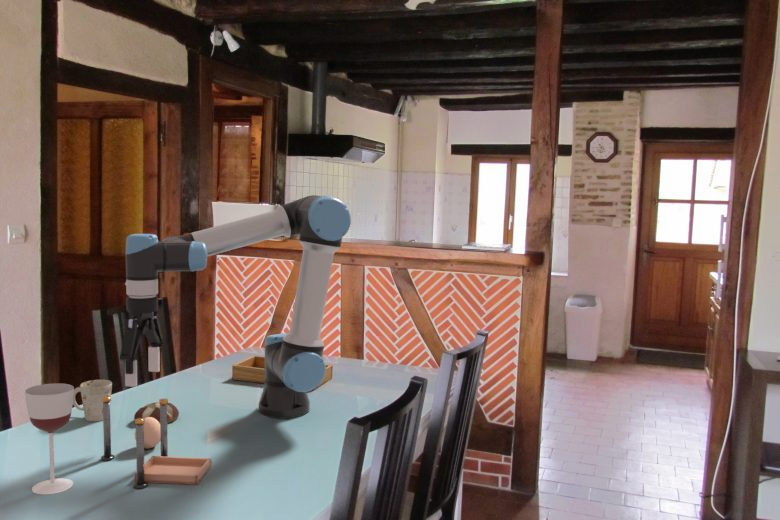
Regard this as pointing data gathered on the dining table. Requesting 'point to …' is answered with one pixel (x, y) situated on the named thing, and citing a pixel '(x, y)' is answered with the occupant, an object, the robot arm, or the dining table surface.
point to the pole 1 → (107, 429)
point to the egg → (151, 432)
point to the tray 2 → (262, 371)
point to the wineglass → (50, 424)
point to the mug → (93, 398)
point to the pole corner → (163, 427)
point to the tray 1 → (175, 470)
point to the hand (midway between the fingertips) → (143, 378)
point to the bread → (157, 412)
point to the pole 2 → (140, 454)
